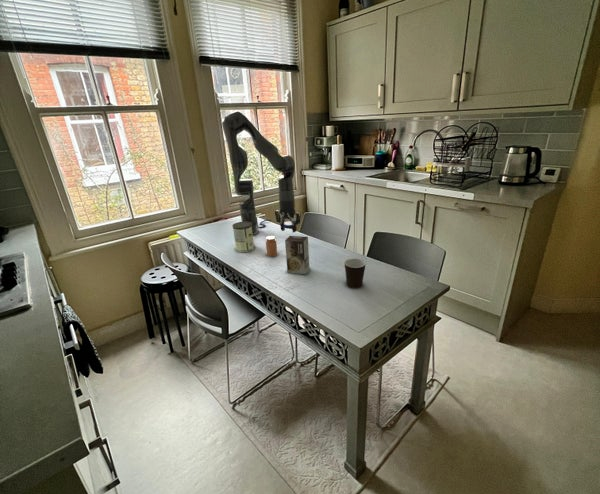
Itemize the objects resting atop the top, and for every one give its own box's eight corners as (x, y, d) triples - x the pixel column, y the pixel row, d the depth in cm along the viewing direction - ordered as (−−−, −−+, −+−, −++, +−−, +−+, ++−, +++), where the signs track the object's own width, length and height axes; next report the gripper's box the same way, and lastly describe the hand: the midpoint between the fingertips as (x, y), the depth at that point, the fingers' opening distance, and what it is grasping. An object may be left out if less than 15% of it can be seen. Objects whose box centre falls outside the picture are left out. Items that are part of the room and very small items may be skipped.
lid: (291, 229, 156) (291, 225, 155) (281, 227, 159) (281, 224, 158) (297, 225, 161) (296, 222, 160) (287, 224, 163) (287, 220, 163)
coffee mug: (360, 291, 127) (360, 269, 123) (340, 286, 132) (340, 264, 127) (370, 279, 136) (371, 258, 132) (351, 275, 140) (352, 254, 136)
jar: (267, 252, 168) (265, 236, 164) (277, 252, 168) (275, 235, 164) (266, 257, 163) (265, 239, 159) (277, 256, 163) (275, 239, 159)
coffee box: (309, 268, 148) (308, 236, 142) (305, 274, 143) (304, 241, 136) (291, 266, 151) (289, 235, 144) (286, 272, 145) (284, 240, 139)
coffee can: (238, 245, 180) (235, 221, 174) (256, 245, 179) (253, 221, 173) (233, 252, 170) (229, 227, 165) (252, 252, 169) (249, 227, 164)
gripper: (270, 199, 153) (272, 232, 160) (296, 201, 147) (297, 235, 154) (277, 195, 159) (280, 227, 166) (303, 197, 153) (304, 230, 160)
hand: (288, 231), depth 160 cm, fingers closed on lid, 5 cm apart
